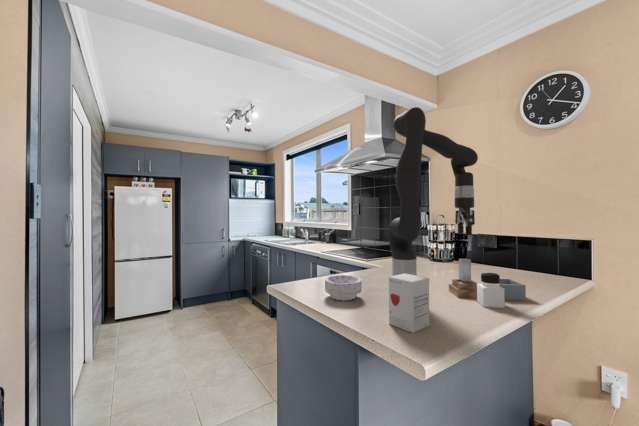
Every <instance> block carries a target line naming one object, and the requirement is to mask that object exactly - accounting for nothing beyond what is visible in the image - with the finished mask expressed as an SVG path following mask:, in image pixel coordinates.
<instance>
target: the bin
mask: <svg viewBox="0 0 639 426" xmlns="http://www.w3.org/2000/svg"><path fill="white" fill-rule="evenodd" d="M499 286H500V287H502V288H504V289H505V301H506V300H507V301H512V300H513V301H526V299H527V298H526V297H527V296H526V295H527V294H526V291H527V289H526V288H527V287H526V286H527V285H526V284H523V283H522V282H519V281H516V280H514V279H511V278H500V285H499Z"/></svg>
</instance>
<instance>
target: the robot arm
mask: <svg viewBox="0 0 639 426" xmlns="http://www.w3.org/2000/svg"><path fill="white" fill-rule="evenodd" d="M426 123H427V120H426V114H425V112H424V110H423V109H422V108H420V107H418V106H417V107H411V108H409V109H406V111H404V112H402V113H400V114H398V115H397V116H396V117H395V118H394V120H393V128H394V131H395V132H396V133H397V134H398V135H399V136H401V137H404V138H405V142H404V143H405V144H404V148H403V151H402V152H401V153H400V157H399V160H398V161H397V164H396V170H395V187H396V191H397V194H398V196H399V197H398V198H399V200H400V216H399V217H396V218H394V219H393V220H392V221H391V222H390V225H389V229H388V230H389V231H388V233H389V234H388V235H389V249H390V252H391V276H395V275H400V274H404V273H406V274H411V275H417V273H418V272H417V267H418V266H417V263H418V261H417V260H418V259H417V257H418V256H417V251H416V250H415V249H414V247H413V244H412V242H414V241H416V239H418V237H419V236H420V232H421V218H420V216H421V215H420V196H421V195H420V191H421V190H420V189H421V187H420V186H421V180H422V179H421V174H422V172H421V171H422V155H423V146H425V147H428V148H430V149H431V150H433V151H435V152H436V153H437V154H439V155H440V156H442V157H444V158H446V159H450V166H451V169H452V172H453V176H454V208H455V209H458V210H455V219H454V223H455V224H456V226H457V234H458V235H463V234H465V236H472V235H473V230H472V229H473V226H474V225H475V223H476V222H475V210H474V207H475V189H474V175H473V172H469V171H467V172H466V169H465V168H466V167H471V166H474V165H475V164H477V162H478V159H479V157H478V153H477V151H475V150H474V149H473V148H471V147H468V146H466V145H463V144H459V143H457V142H455V141H454V140H453V139H451V138H450V137H448V136H446V135H444V134H442V133H438V132H434V131H430V130H427V129H426ZM464 225H465V232H464ZM417 276H418V275H417Z"/></svg>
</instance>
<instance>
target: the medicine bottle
mask: <svg viewBox="0 0 639 426" xmlns="http://www.w3.org/2000/svg"><path fill="white" fill-rule="evenodd" d="M500 279H501V277H500V274H498V273H495V272H488V271H487V272H482V273H481V274H480V283H478V284H477V298H476V300H477V303H479V305H480V306H482V307H484V308H492V309H505V308H506V300H505V289H504V288H502V287H500V286H499V285H500Z"/></svg>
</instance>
